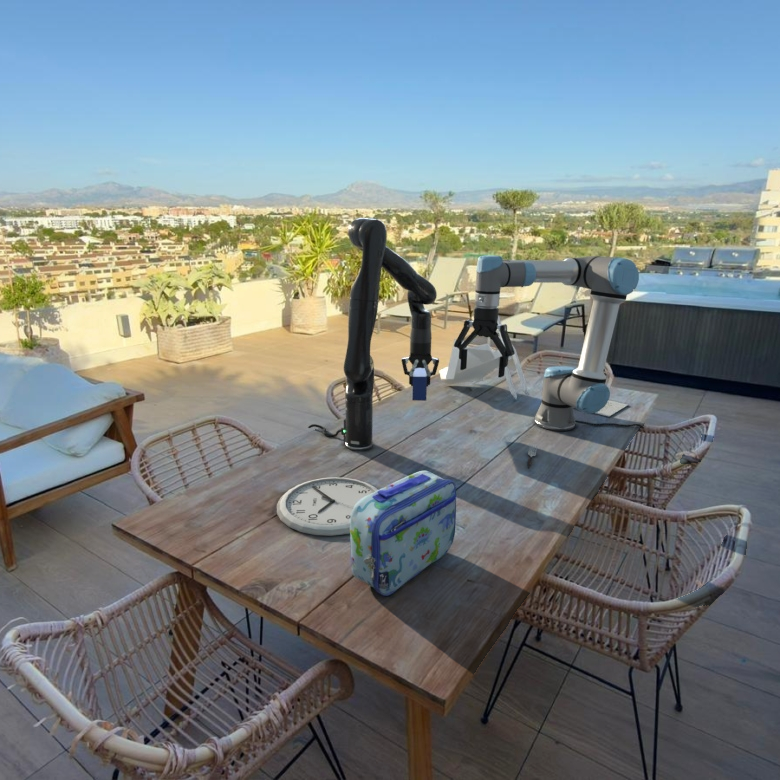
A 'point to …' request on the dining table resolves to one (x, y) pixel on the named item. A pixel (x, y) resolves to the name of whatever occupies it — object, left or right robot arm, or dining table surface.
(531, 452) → the fork
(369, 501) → the lunch box
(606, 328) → the right robot arm
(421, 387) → the bar
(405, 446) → the dining table surface
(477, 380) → the white plastic object
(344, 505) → the wall clock
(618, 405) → the invitation card
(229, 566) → the dining table surface
